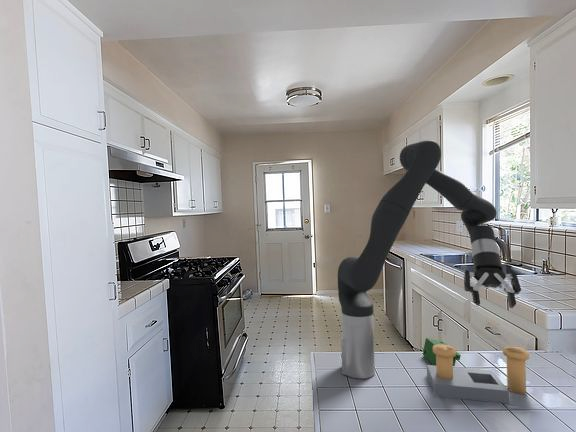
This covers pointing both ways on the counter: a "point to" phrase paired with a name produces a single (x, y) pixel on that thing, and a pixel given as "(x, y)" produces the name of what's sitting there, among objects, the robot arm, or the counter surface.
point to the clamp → (429, 351)
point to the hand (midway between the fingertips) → (495, 305)
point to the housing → (463, 379)
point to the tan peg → (516, 368)
